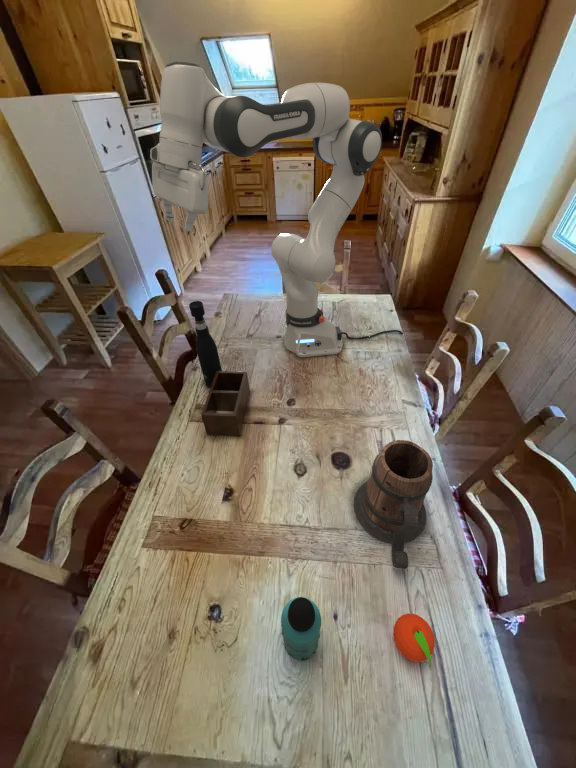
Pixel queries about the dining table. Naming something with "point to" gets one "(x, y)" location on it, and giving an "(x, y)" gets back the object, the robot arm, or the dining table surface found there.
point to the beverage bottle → (301, 628)
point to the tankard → (396, 497)
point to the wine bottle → (205, 344)
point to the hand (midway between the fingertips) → (178, 225)
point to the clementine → (414, 638)
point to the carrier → (226, 403)
